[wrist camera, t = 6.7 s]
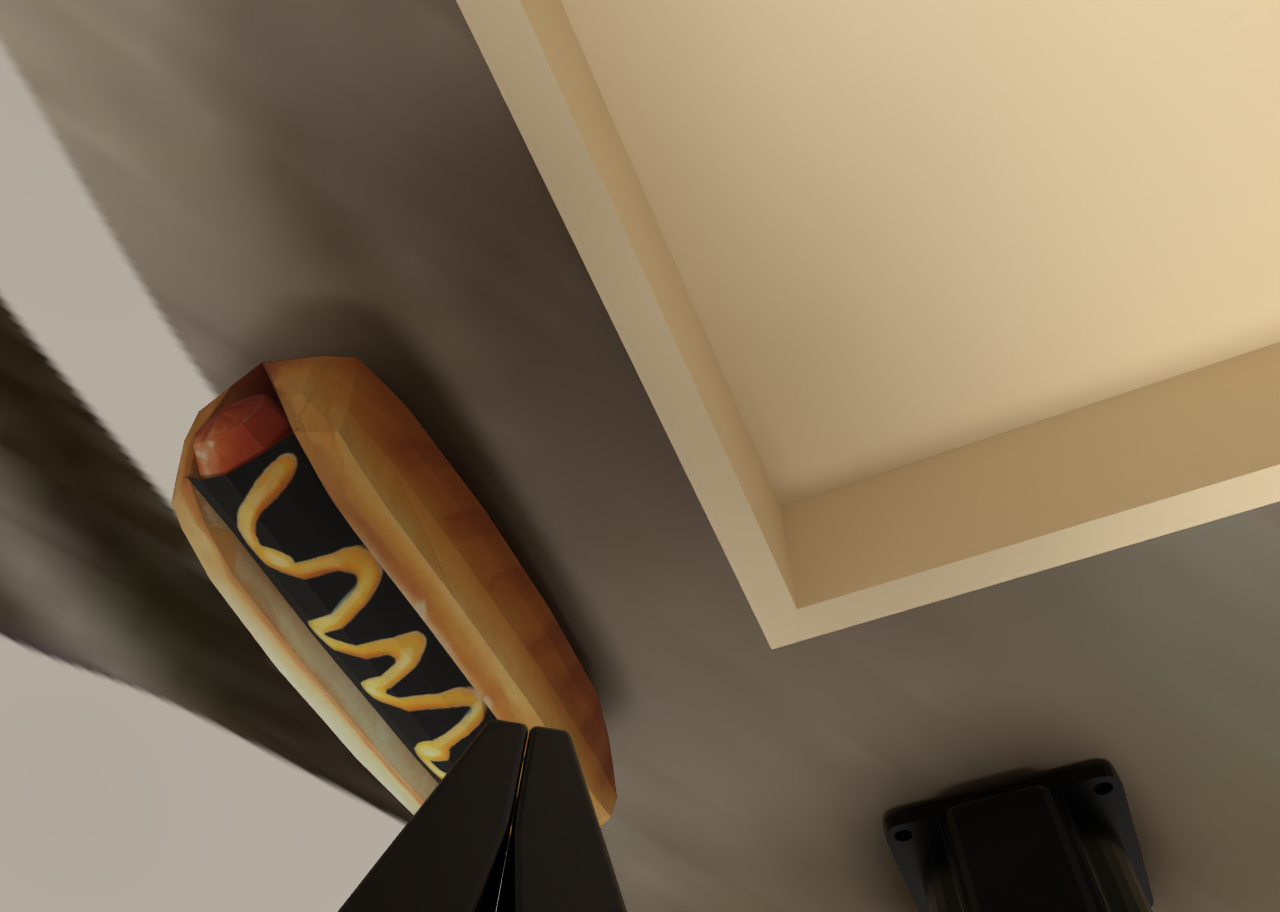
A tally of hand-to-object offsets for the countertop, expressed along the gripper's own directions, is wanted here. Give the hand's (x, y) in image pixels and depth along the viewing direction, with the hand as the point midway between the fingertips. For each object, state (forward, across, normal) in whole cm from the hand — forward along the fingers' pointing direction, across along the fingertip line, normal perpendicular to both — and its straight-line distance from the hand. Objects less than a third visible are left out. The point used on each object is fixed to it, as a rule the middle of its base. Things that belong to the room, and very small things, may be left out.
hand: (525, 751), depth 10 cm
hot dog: (+12, +3, +7) cm, 14 cm away
